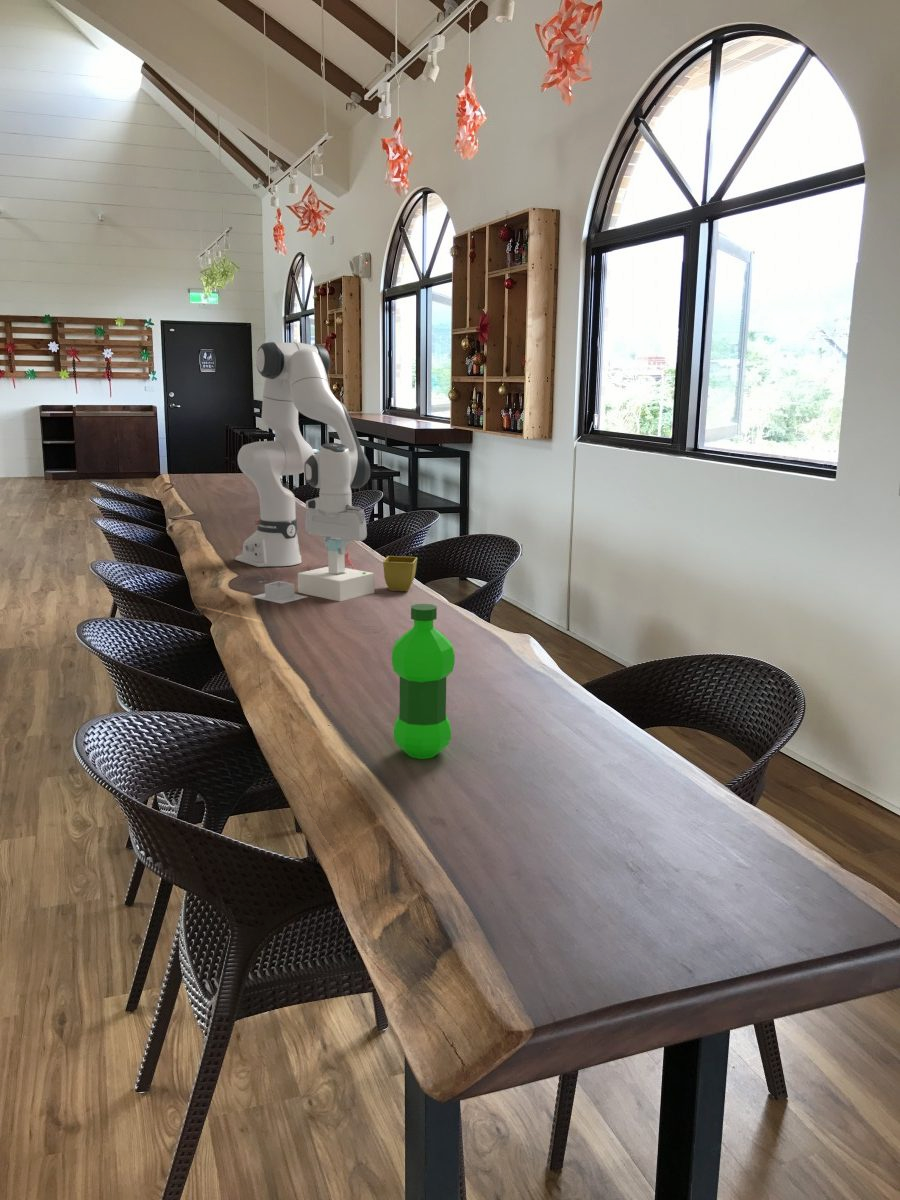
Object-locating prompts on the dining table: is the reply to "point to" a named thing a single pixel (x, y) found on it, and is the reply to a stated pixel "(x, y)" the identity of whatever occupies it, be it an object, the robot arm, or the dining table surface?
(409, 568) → the flower pot
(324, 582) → the port
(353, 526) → the robot arm
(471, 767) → the dining table surface
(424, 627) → the plastic bottle
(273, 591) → the holster
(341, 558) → the plug
